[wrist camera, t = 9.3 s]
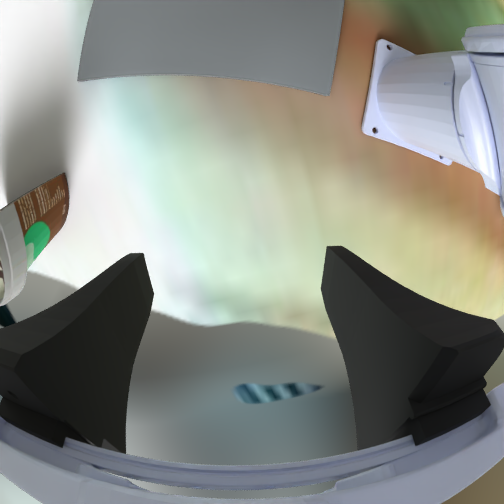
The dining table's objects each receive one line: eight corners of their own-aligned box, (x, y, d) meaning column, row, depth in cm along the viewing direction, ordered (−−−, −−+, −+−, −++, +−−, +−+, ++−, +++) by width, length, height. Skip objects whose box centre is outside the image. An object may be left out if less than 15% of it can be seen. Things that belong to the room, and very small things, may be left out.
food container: (23, 258, 22) (-28, 317, 13) (1, 208, 19) (-61, 258, 10) (102, 232, 21) (40, 309, 12) (76, 166, 18) (-8, 217, 9)
